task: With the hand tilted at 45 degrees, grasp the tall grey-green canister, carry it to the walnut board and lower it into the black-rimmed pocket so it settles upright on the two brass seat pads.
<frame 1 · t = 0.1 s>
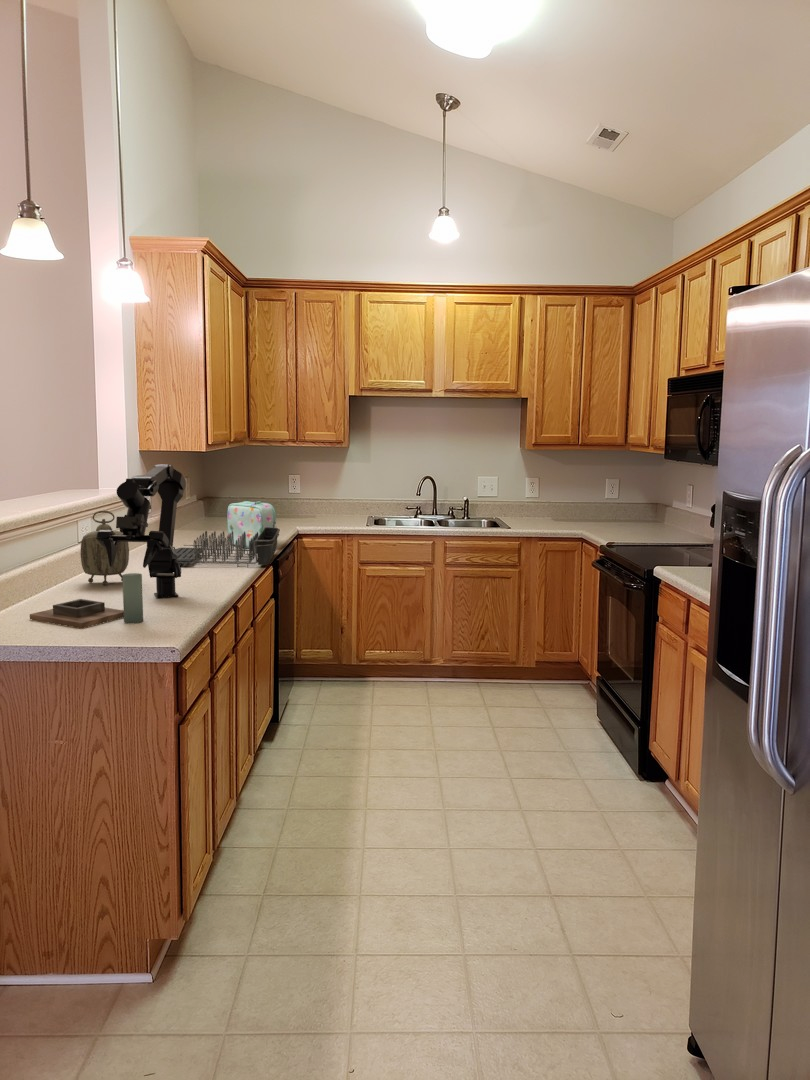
hand: (127, 566, 212), 15 cm above the worktop, tool tilted 35°, fingers open, 9 cm apart
grey-green canister: (133, 621, 211), on the worktop
dish rack: (222, 562, 311), on the worktop
walnut seat board: (79, 617, 214), on the worktop
lunch box: (253, 547, 348), on the worktop
tabletop clock: (106, 584, 261), on the worktop
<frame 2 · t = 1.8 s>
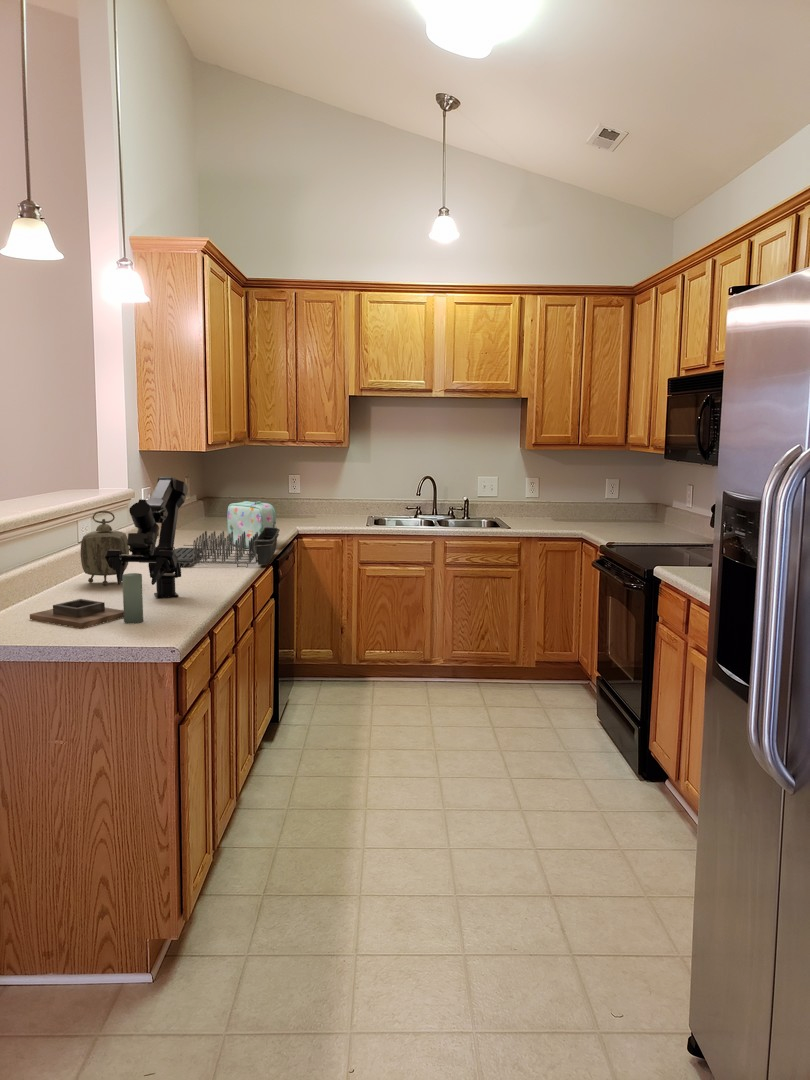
hand: (135, 583, 213), 10 cm above the worktop, tool tilted 45°, fingers open, 9 cm apart
nothing on the worktop moved.
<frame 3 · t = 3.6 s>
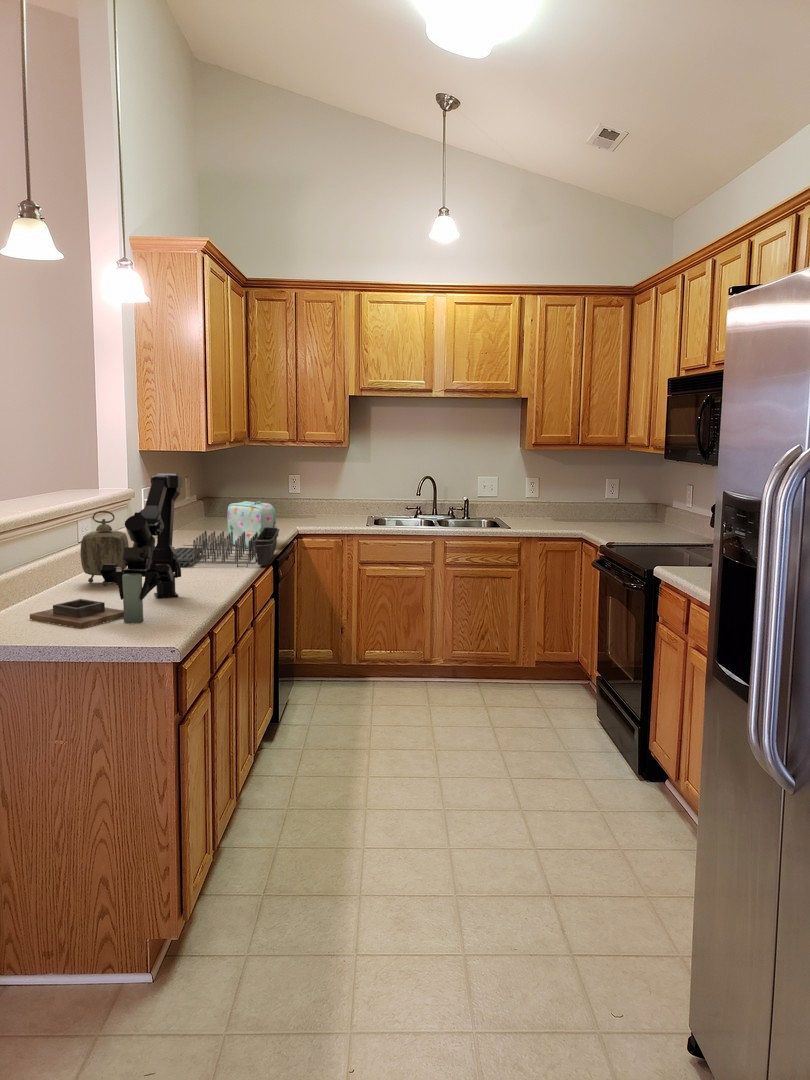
hand: (131, 598, 209), 7 cm above the worktop, tool tilted 45°, fingers closed on grey-green canister, 5 cm apart
grey-green canister: (133, 621, 211), on the worktop, touching gripper
everything else where it was.
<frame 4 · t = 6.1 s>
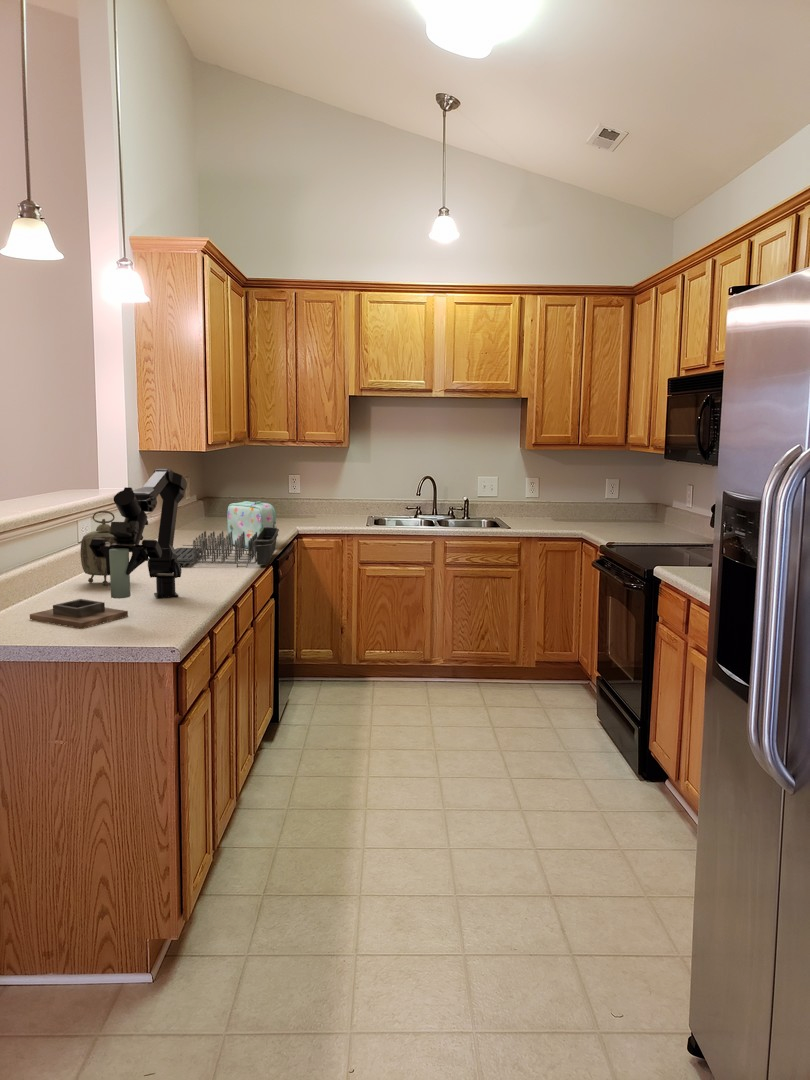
hand: (117, 573, 208), 14 cm above the worktop, tool tilted 45°, fingers closed on grey-green canister, 5 cm apart
grey-green canister: (120, 596, 210), point 7 cm above the worktop, touching gripper
everything else where it was.
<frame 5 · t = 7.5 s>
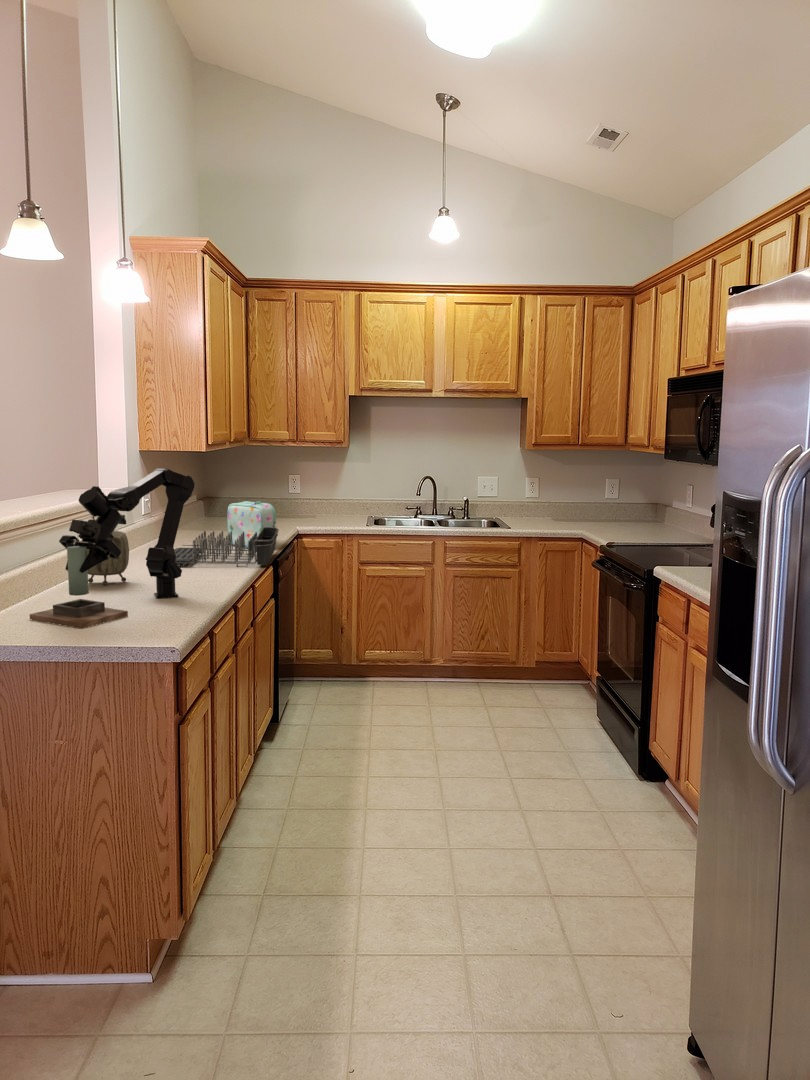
hand: (73, 571, 211), 13 cm above the worktop, tool tilted 45°, fingers closed on grey-green canister, 5 cm apart
grey-green canister: (78, 593, 213), point 7 cm above the worktop, touching gripper
everything else where it was.
when the fingers open (10 cm above the worktop, at t = 8.7 s): grey-green canister drops 1 cm, resting on walnut seat board.
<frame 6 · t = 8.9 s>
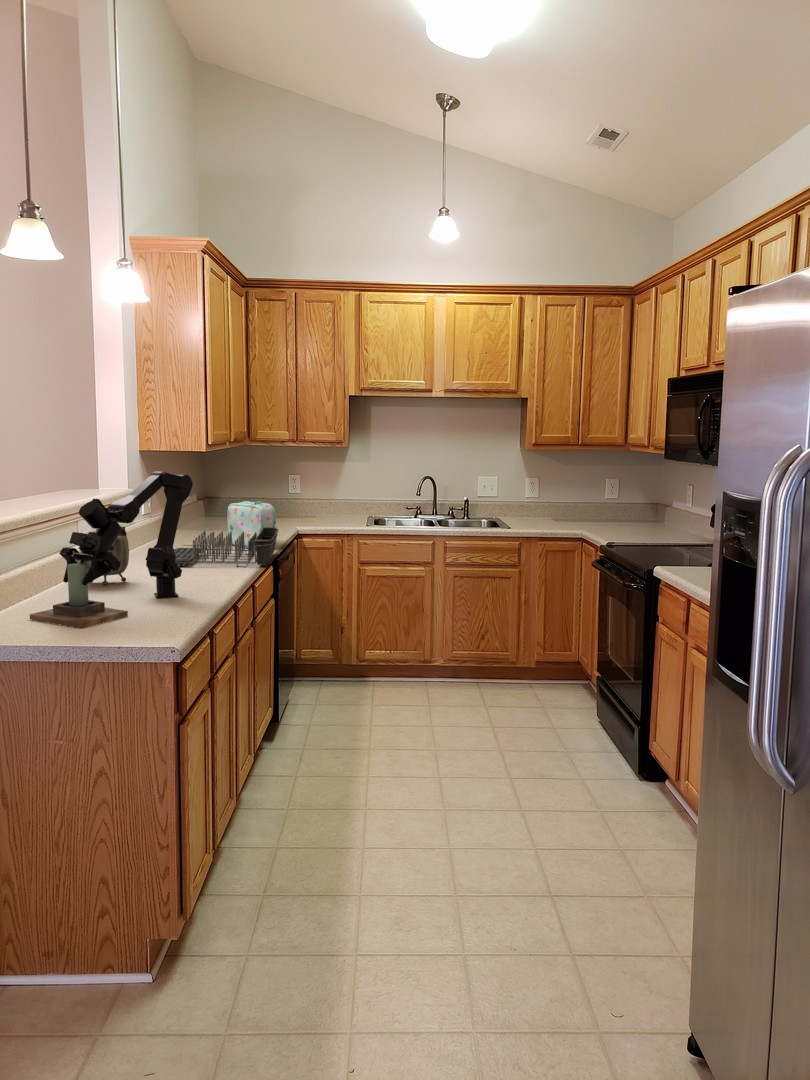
hand: (73, 583, 212), 10 cm above the worktop, tool tilted 45°, fingers open, 7 cm apart
grey-green canister: (79, 610, 214), point 2 cm above the worktop, touching walnut seat board
everything else where it was.
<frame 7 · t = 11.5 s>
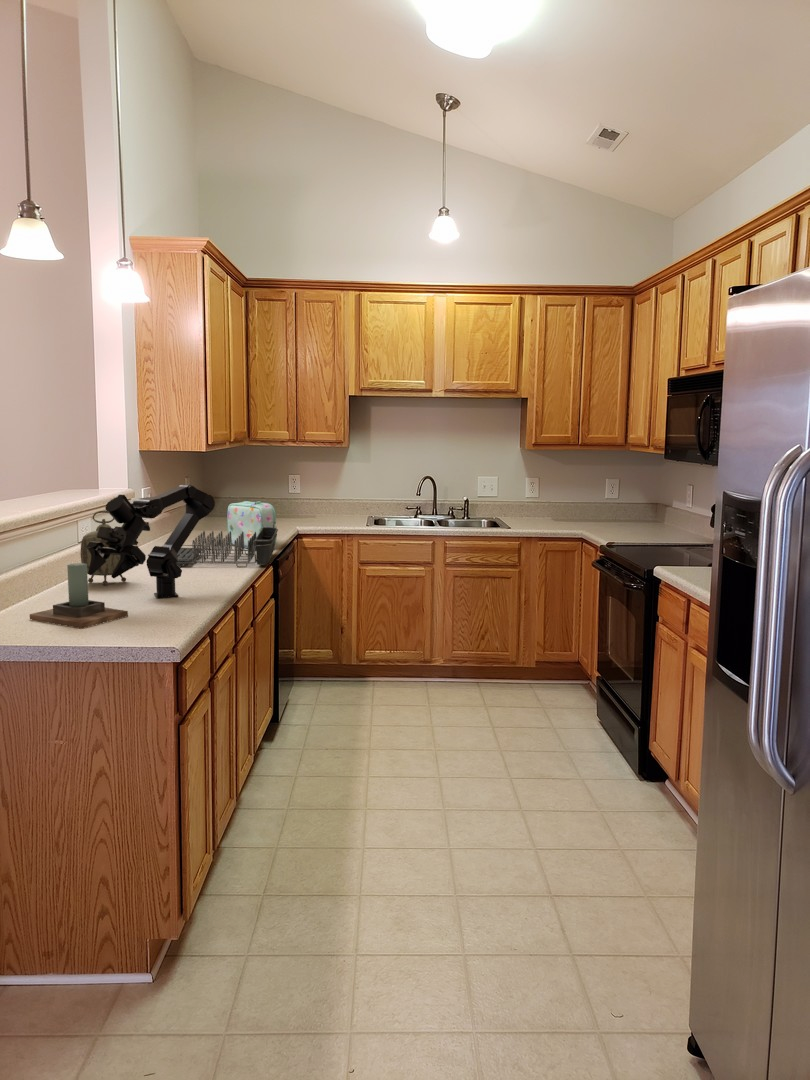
hand: (100, 575, 220), 11 cm above the worktop, tool tilted 45°, fingers open, 9 cm apart
nothing on the worktop moved.
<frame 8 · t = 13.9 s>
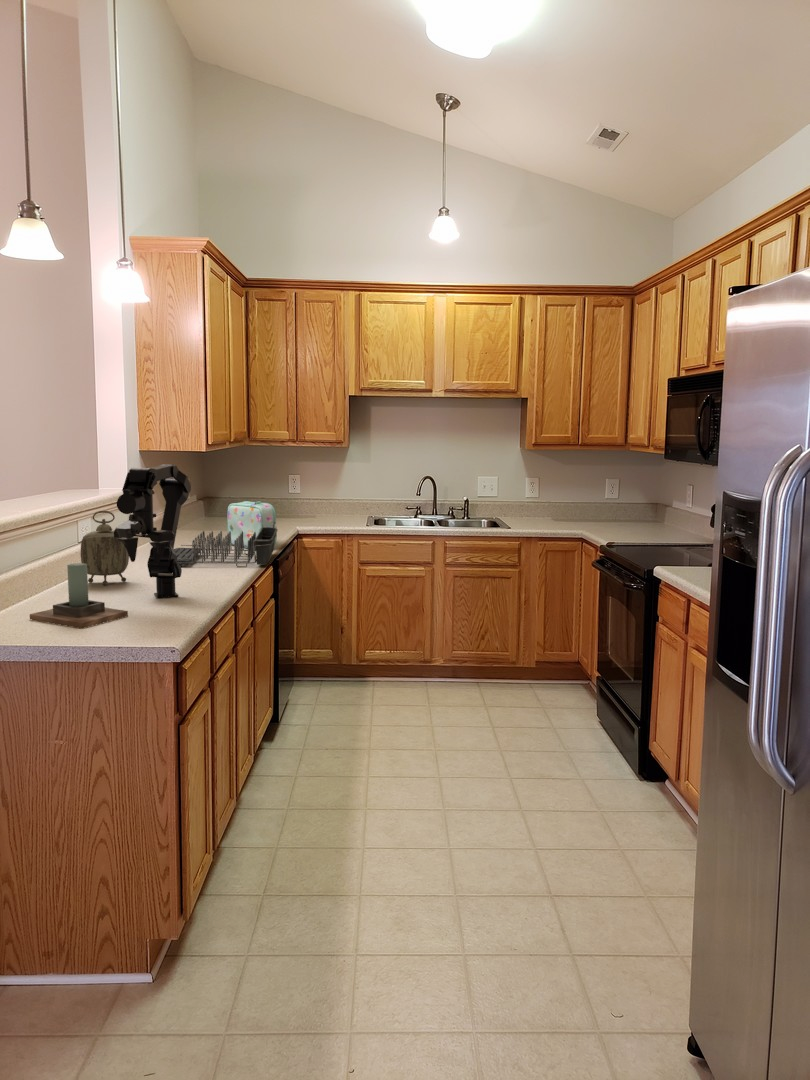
hand: (144, 563, 228), 13 cm above the worktop, tool pointing down, fingers open, 9 cm apart
nothing on the worktop moved.
at the end: grey-green canister 0.0 cm off-centre on the walnut seat board, point 2.0 cm above the walnut seat board's base; grey-green canister tilted 0°; the gripper is holding nothing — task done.
